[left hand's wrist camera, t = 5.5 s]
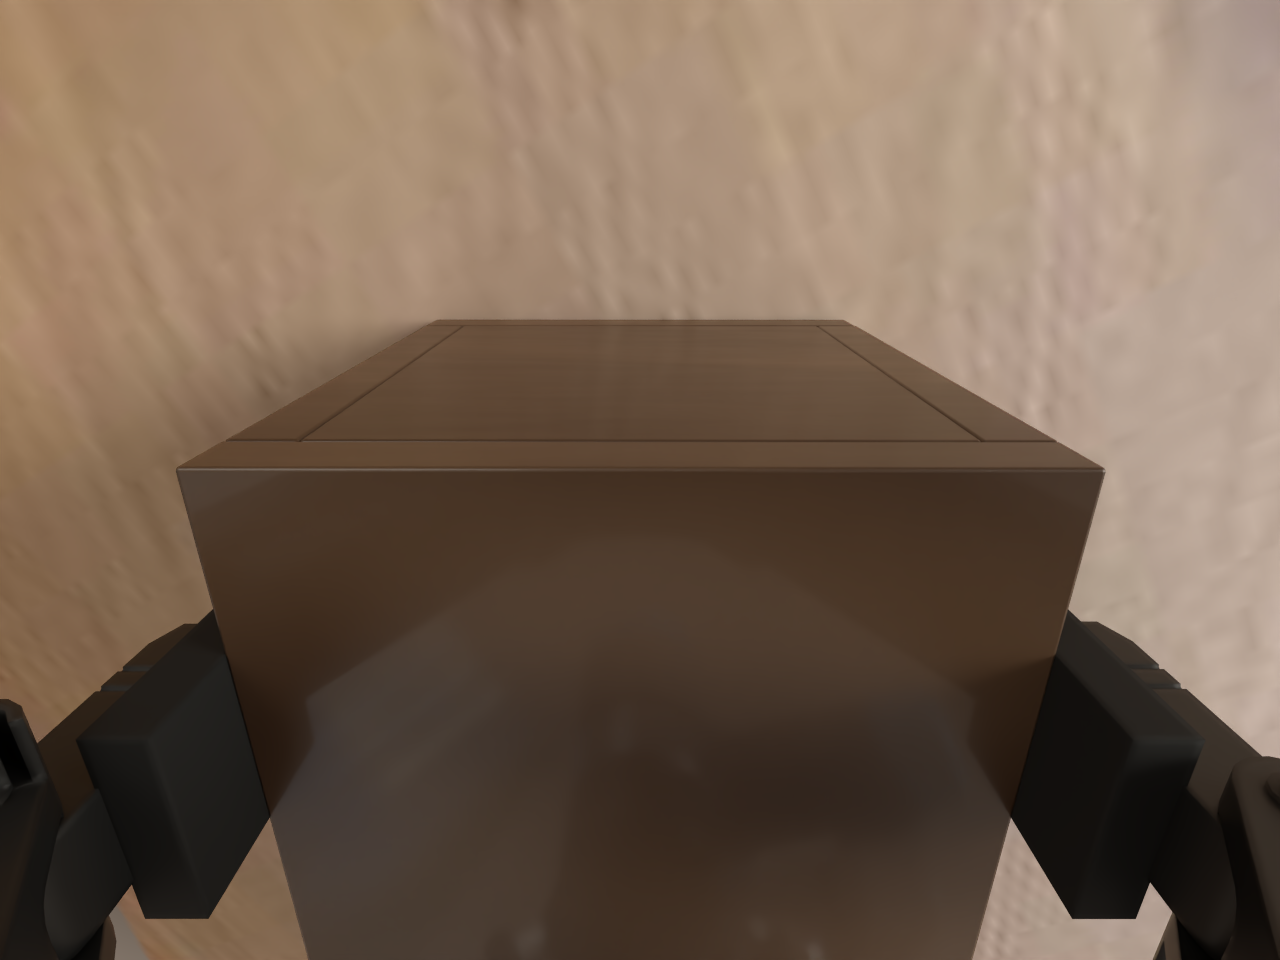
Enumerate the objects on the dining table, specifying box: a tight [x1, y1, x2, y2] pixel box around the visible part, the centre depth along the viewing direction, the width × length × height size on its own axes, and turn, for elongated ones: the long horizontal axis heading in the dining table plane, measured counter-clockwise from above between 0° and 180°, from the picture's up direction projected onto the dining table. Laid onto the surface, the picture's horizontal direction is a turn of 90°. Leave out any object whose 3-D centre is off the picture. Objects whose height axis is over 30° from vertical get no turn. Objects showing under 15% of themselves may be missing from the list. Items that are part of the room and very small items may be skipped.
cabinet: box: [176, 320, 1105, 960], centre depth 16 cm, size 21×10×10 cm, turn 0°
